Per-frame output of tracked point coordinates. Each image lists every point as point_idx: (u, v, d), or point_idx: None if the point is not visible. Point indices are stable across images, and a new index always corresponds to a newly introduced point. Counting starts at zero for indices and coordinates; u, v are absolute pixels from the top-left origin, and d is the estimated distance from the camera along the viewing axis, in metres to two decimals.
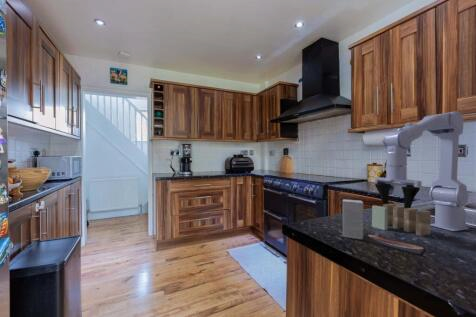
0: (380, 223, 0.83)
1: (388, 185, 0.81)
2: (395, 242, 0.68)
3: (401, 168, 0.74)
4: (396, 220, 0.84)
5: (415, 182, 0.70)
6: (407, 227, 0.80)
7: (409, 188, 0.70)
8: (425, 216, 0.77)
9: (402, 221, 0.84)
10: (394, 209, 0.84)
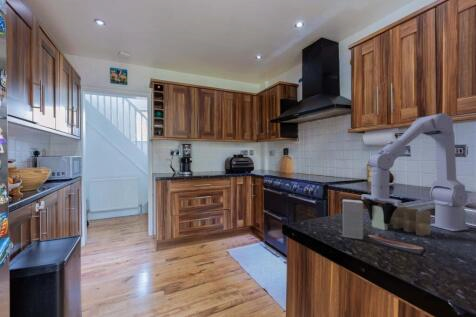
0: (380, 223, 0.83)
1: (376, 202, 0.87)
2: (395, 242, 0.68)
3: (384, 188, 0.81)
4: (396, 220, 0.84)
5: (395, 201, 0.77)
6: (407, 227, 0.80)
7: (387, 206, 0.79)
8: (425, 216, 0.77)
9: (402, 221, 0.84)
10: None
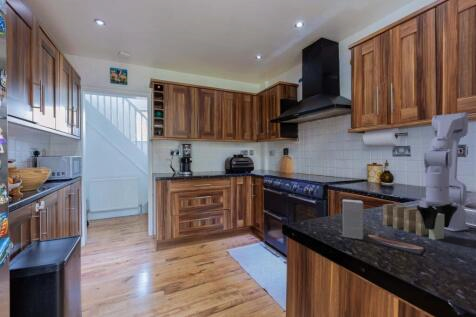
0: None
1: (449, 208, 0.74)
2: (395, 242, 0.68)
3: (428, 188, 0.74)
4: (396, 220, 0.84)
5: None
6: (407, 227, 0.80)
7: (417, 206, 0.74)
8: None
9: (402, 221, 0.84)
10: (394, 209, 0.84)
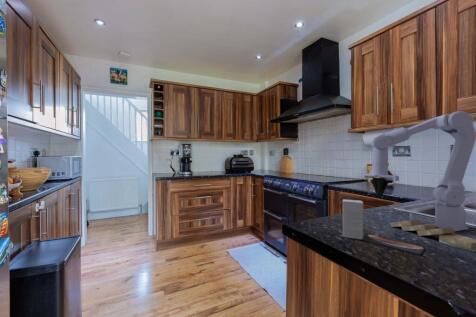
0: None
1: None
2: (395, 242, 0.68)
3: (383, 165, 0.91)
4: (410, 229, 0.79)
5: (394, 177, 0.87)
6: (422, 234, 0.75)
7: (380, 181, 0.91)
8: None
9: None
10: (421, 226, 0.75)
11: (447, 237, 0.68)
